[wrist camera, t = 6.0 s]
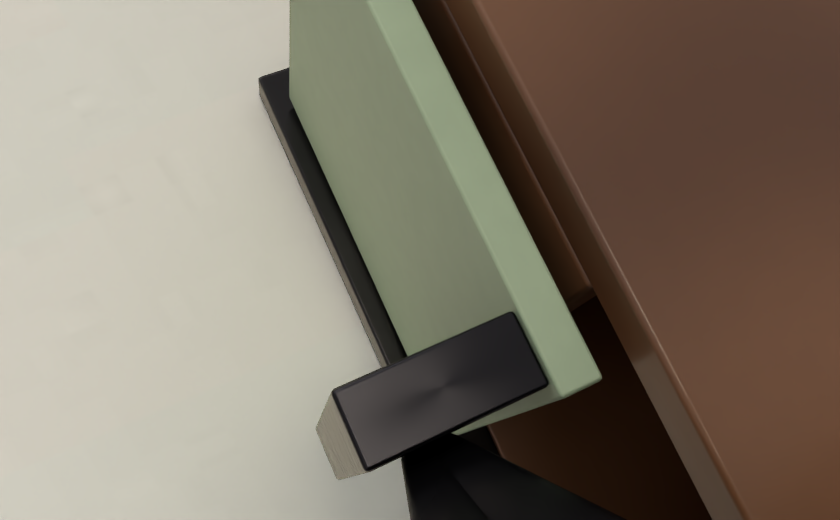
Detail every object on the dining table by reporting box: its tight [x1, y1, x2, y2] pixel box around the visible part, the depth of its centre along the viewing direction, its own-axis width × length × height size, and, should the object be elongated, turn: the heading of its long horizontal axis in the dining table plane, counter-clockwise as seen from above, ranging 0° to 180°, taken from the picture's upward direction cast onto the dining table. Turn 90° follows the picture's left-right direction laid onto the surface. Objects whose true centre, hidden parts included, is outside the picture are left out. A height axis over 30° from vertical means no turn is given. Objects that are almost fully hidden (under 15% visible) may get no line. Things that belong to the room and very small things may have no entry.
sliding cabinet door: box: [289, 0, 602, 480], centre depth 13 cm, size 8×3×7 cm, turn 25°
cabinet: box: [259, 0, 840, 520], centre depth 14 cm, size 16×11×9 cm
